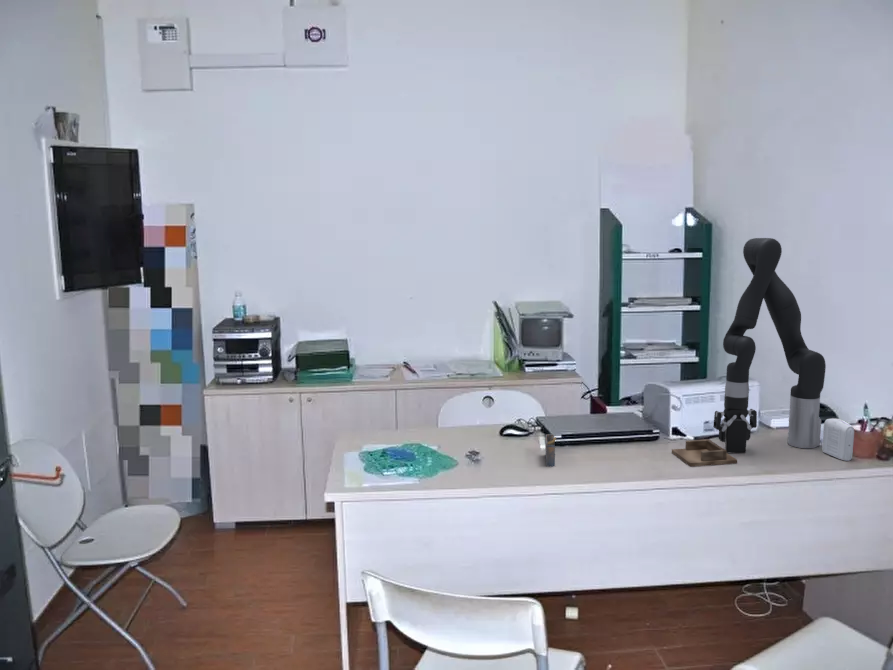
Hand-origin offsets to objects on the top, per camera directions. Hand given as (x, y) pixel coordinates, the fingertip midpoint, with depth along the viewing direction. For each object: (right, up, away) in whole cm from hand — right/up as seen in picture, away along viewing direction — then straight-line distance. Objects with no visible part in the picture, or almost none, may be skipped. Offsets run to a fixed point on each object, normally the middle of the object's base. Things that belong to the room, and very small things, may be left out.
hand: (734, 440), depth 260 cm
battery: (0, -4, +1) cm, 4 cm away
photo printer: (+32, -4, -6) cm, 32 cm away
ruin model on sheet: (-63, -7, -4) cm, 63 cm away
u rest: (-12, -5, -5) cm, 14 cm away
